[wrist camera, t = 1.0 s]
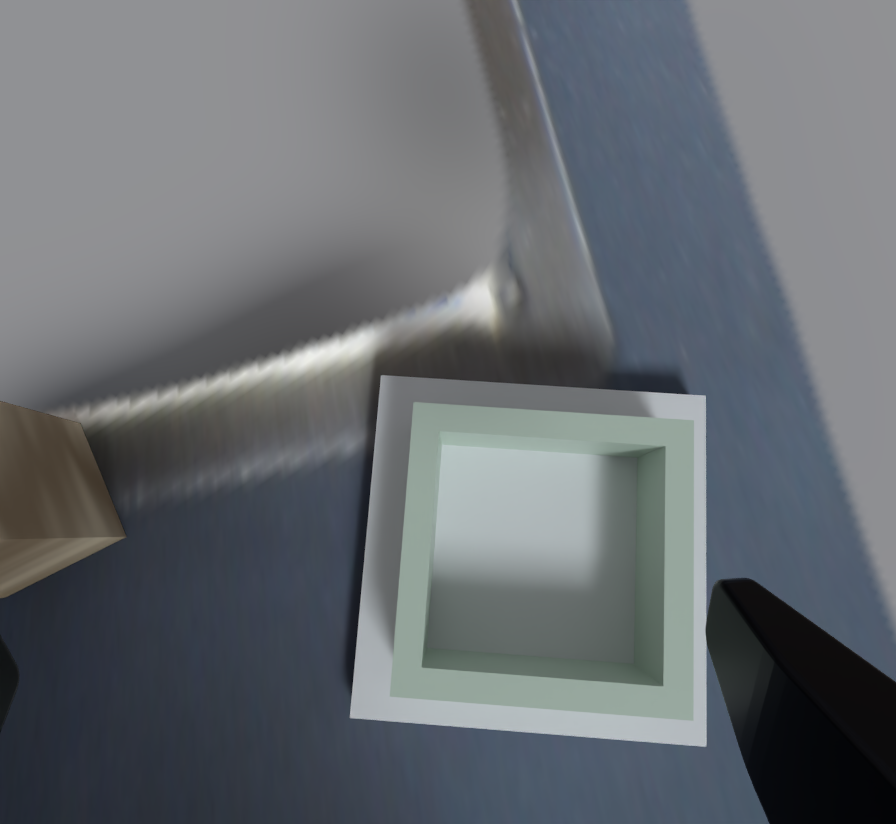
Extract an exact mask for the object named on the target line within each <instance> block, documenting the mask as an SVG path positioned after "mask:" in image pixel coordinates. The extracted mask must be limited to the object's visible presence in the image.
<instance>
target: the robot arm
mask: <svg viewBox="0 0 896 824" xmlns="http://www.w3.org/2000/svg"><path fill="white" fill-rule="evenodd" d="M705 633H706V641H707V645H708V649H709V652H710V655H711V659H712V662H713V665H714V668H715V671H716V675H717V678H718V681H719V684H720V687H721V691H722V694H723V697H724V700H725V703H726V707H727V710H728V713H729V716H730V719H731V723H732V726H733V729H734V732H735V735H736V739H737V742H738V745H739V748H740V751H741V754H742V757H743V760H744V763H745V766H746V769H747V771H748V774H749V776H750V779H751V781H752V784H753V786H754V789H755V791H756V793H757V796H758V798H759V800H760V803H761V805H762V807H763V810H764V812H765V814H766V817H767V819H768V821H769V824H896V682H895V681H894V680H892V679H891V678H890V677H888V676H887V675H885V674H884V673H883V672H881V671H880V670H878V669H877V668H876V667H874V666H873V665H871V664H870V663H869V662H867V661H866V660H864V659H863V658H862V657H860V656H859V655H857V654H856V653H855V652H853V651H852V650H850V649H849V648H848V647H846V646H845V645H844V644H842V643H841V642H839V641H838V640H837V639H835V638H834V637H832V636H831V635H830V634H828V633H827V632H825V631H824V630H823V629H821V628H820V627H818V626H817V625H816V624H814V623H813V622H811V621H810V620H809V619H807V618H806V617H804V616H803V615H802V614H800V613H799V612H798V611H796V610H795V609H793V608H792V607H791V606H789V605H788V604H786V603H785V602H784V601H782V600H781V599H779V598H778V597H777V596H775V595H774V594H772V593H771V592H770V591H768V590H767V589H765V588H764V587H763V586H761V585H760V584H758V583H757V582H755V581H754V580H752V579H749V578H734V579H721V580H718V581H717V582H715V584H714V586H713V589H712V594H711V599H710V605H709V610H708V616H707V621H706V628H705ZM18 683H19V669H18V666H17V664H16V662H15V660H14V659H13V657H12V655H11V653H10V651H9V649H8V648H7V646H6V644H5V642H4V640H3V639H2V637H1V635H0V732H1V729H2V727H3V724H4V722H5V719H6V716H7V714H8V711H9V709H10V706H11V704H12V701H13V698H14V696H15V693H16V691H17V688H18Z"/></svg>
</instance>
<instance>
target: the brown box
mask: <svg viewBox="0 0 896 824" xmlns="http://www.w3.org/2000/svg"><path fill="white" fill-rule="evenodd" d="M125 537H126V534H125V532H124V529H123V527H122V524H121V522H120V520H119V517H118V515H117V512H116V510H115V507H114V505H113V502H112V500H111V497H110V495H109V493H108V490H107V488H106V485H105V483H104V480H103V478H102V475H101V473H100V470H99V468H98V466H97V463H96V461H95V458H94V456H93V453H92V451H91V448H90V446H89V443H88V441H87V439H86V436H85V434H84V431H83V429H82V426H81V424H80V423H77V422H74V421H70V420H66V419H63V418H59V417H56V416H52V415H49V414H45V413H41V412H38V411H34V410H31V409H27V408H24V407H20V406H16V405H13V404H9V403H6V402H2V401H0V598H4V597H7V596H9V595H11V594H13V593H15V592H17V591H19V590H21V589H23V588H25V587H27V586H29V585H31V584H33V583H35V582H37V581H39V580H41V579H43V578H45V577H47V576H49V575H51V574H53V573H55V572H57V571H59V570H61V569H63V568H65V567H67V566H69V565H71V564H73V563H75V562H77V561H79V560H81V559H83V558H85V557H87V556H89V555H91V554H93V553H95V552H97V551H99V550H101V549H103V548H105V547H107V546H109V545H111V544H113V543H115V542H117V541H119V540H121V539H123V538H125Z"/></svg>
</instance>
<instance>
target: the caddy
mask: <svg viewBox="0 0 896 824" xmlns="http://www.w3.org/2000/svg"><path fill="white" fill-rule="evenodd" d="M705 628H706V396H701V395H685V394H670V393H654V392H638V391H623V390H607V389H591V388H576V387H560V386H544V385H529V384H513V383H497V382H482V381H466V380H450V379H435V378H419V377H403V376H388V375H381V381H380V392H379V403H378V414H377V425H376V436H375V447H374V458H373V469H372V480H371V491H370V502H369V513H368V524H367V535H366V546H365V557H364V568H363V579H362V590H361V601H360V612H359V622H358V633H357V644H356V655H355V666H354V677H353V688H352V699H351V710H350V718H357V719H369V720H382V721H394V722H407V723H419V724H431V725H444V726H456V727H468V728H481V729H493V730H505V731H518V732H530V733H543V734H555V735H567V736H580V737H592V738H604V739H617V740H629V741H641V742H654V743H666V744H679V745H691V746H703V747H706V633H705Z"/></svg>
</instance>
